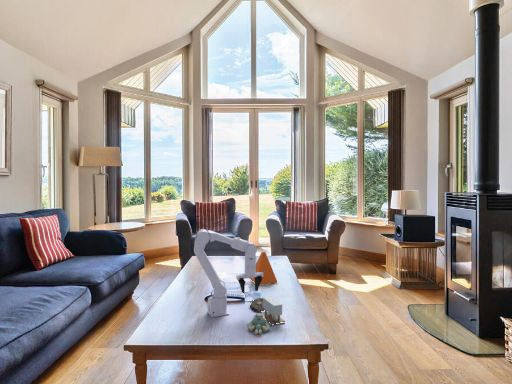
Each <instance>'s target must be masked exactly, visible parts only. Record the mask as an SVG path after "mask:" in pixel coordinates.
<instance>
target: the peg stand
mask: <svg viewBox="0 0 512 384" xmlns="http://www.w3.org/2000/svg"><path fill="white" fill-rule="evenodd" d="M260 314H262V315H264V317H265V319H266V320H267V321H268V322H270V323H271V324H276V323H280V322H285V323H286V320H284V319H283V318H281V315H278V316H273V315H272V314H270V313H269V312H268V311H267V310H265V312H263V313H259V315H260ZM270 323H269V324H270ZM271 324H270V325H271Z"/></svg>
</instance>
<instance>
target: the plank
mask: <svg viewBox="0 0 512 384" xmlns="http://www.w3.org/2000/svg"><path fill="white" fill-rule="evenodd" d="M262 298H263V308H264V309H265V310H267V312H269V313H270V314H272V315H273V316H278V315H280V316H282V315H283V304H282V303H281V302H280V301H278V300H276V299H275V298H274V297H273V296H264V297H262Z"/></svg>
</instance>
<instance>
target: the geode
mask: <svg viewBox="0 0 512 384" xmlns="http://www.w3.org/2000/svg"><path fill="white" fill-rule="evenodd" d="M253 300H254V301H253ZM251 301H252V303H251V302H250V304H251V305H249V308H250V309H251V311H253V310H254V311H253V312H255V311H257V312H256V313H258V312H261V311H264V310H265V309H264V308H263V297H258V298H257V297H256V298H255V299H252V300H251Z"/></svg>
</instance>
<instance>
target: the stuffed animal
mask: <svg viewBox="0 0 512 384" xmlns="http://www.w3.org/2000/svg"><path fill="white" fill-rule="evenodd" d="M271 326H272V325H271V324H270V323H268V322H267V321H266V320H265V317H264V315H262V314H260V313H256V314H254V315H253V317H252V320H251V321H249V323H247V326H246V327H247V328H248V329H249V331H250V332H254V334H255V335H257V334H259V335H261V334H262V333H263V332H264V333H265V332H268V331H269V330H270V328H271ZM262 330H263V331H262Z"/></svg>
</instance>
